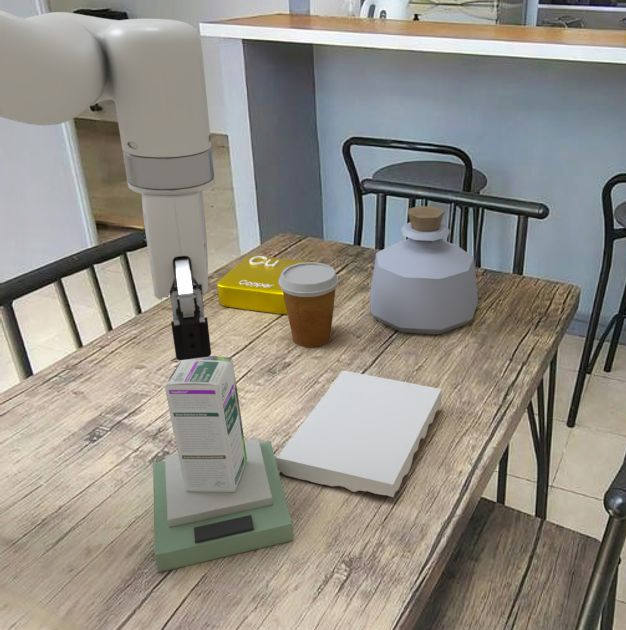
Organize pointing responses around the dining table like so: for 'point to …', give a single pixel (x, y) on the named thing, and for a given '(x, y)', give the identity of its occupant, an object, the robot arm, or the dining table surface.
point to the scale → (219, 512)
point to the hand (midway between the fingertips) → (191, 333)
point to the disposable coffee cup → (309, 301)
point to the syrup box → (207, 423)
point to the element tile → (255, 284)
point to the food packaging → (361, 434)
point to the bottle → (424, 278)
